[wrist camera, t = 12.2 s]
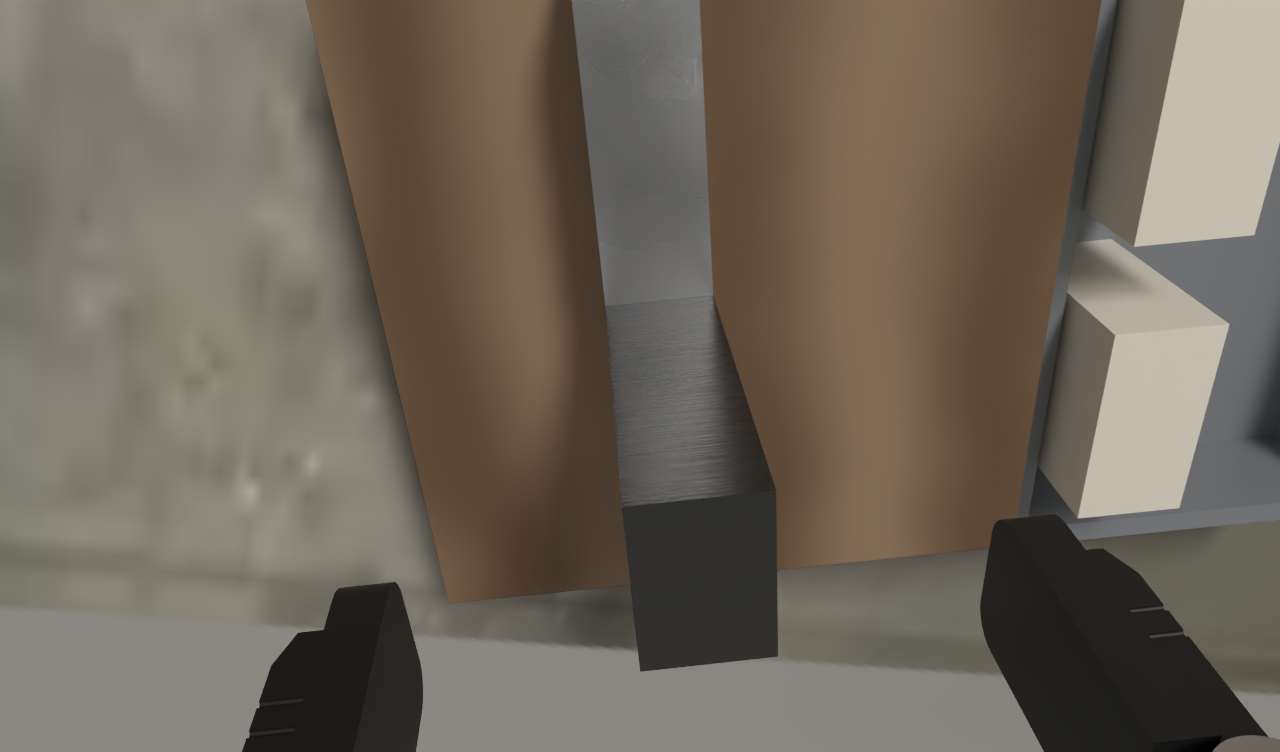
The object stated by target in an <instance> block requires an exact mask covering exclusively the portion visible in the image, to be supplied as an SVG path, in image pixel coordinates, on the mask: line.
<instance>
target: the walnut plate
mask: <svg viewBox="0 0 1280 752" xmlns="http://www.w3.org/2000/svg"><path fill="white" fill-rule="evenodd" d="M306 3H307V7H308V11H309V15H310V20H311V24H312V28H313V32H314V37H315V41H316V45H317V49H318V53H319V58H320V62H321V66H322V70H323V75H324V79H325V83H326V87H327V91H328V96H329V100H330V104H331V108H332V112H333V117H334V121H335V125H336V129H337V134H338V138H339V142H340V146H341V150H342V155H343V159H344V163H345V167H346V172H347V176H348V180H349V184H350V188H351V193H352V197H353V201H354V205H355V209H356V214H357V218H358V222H359V226H360V231H361V235H362V239H363V243H364V247H365V252H366V256H367V260H368V264H369V269H370V273H371V277H372V281H373V285H374V290H375V294H376V298H377V302H378V306H379V311H380V315H381V319H382V323H383V328H384V332H385V336H386V340H387V344H388V349H389V353H390V357H391V361H392V365H393V370H394V374H395V378H396V382H397V387H398V391H399V395H400V399H401V403H402V408H403V412H404V416H405V420H406V425H407V429H408V433H409V437H410V441H411V446H412V450H413V454H414V458H415V462H416V467H417V471H418V475H419V479H420V484H421V488H422V492H423V496H424V500H425V505H426V509H427V513H428V517H429V522H430V526H431V530H432V534H433V538H434V543H435V547H436V551H437V555H438V559H439V564H440V568H441V572H442V576H443V581H444V585H445V589H446V593H447V597H448V602H449V603H458V602H468V601H477V600H487V599H497V598H507V597H517V596H526V595H536V594H546V593H556V592H566V591H575V590H585V589H595V588H605V587H614V586H624V585H631V584H630V575H629V566H628V558H627V549H626V540H625V531H624V523H623V514H622V504H621V492H620V480H619V467H618V455H617V443H616V431H615V418H614V406H613V394H612V381H611V369H610V357H609V344H608V332H607V320H606V308H605V298H604V289H603V280H602V271H601V262H600V253H599V244H598V235H597V226H596V216H595V207H594V198H593V189H592V180H591V171H590V162H589V153H588V144H587V135H586V126H585V117H584V108H583V98H582V89H581V80H580V71H579V62H578V53H577V44H576V35H575V26H574V17H573V8H572V0H306ZM1100 6H1101V0H700V19H701V41H702V63H703V85H704V107H705V129H706V151H707V173H708V195H709V217H710V238H711V260H712V282H713V296H714V300H715V303H716V306H717V309H718V312H719V315H720V318H721V321H722V324H723V327H724V330H725V334H726V337H727V340H728V343H729V346H730V349H731V352H732V355H733V358H734V361H735V364H736V368H737V371H738V374H739V377H740V380H741V383H742V386H743V389H744V392H745V395H746V398H747V402H748V405H749V408H750V411H751V414H752V417H753V420H754V423H755V426H756V429H757V432H758V436H759V439H760V442H761V445H762V448H763V451H764V454H765V457H766V460H767V463H768V467H769V470H770V473H771V476H772V479H773V482H774V485H775V488H776V516H777V570H781V569H791V568H800V567H810V566H820V565H830V564H840V563H849V562H859V561H869V560H879V559H889V558H898V557H908V556H918V555H928V554H937V553H947V552H957V551H967V550H977V549H986V548H989V547H990V541H991V534H992V530H993V527H994V524H995V523H996V522H997V521H998V520H1002V519H1011V518H1016V517H1017V511H1018V504H1019V498H1020V492H1021V486H1022V480H1023V474H1024V468H1025V462H1026V456H1027V450H1028V444H1029V438H1030V432H1031V426H1032V419H1033V413H1034V407H1035V401H1036V395H1037V389H1038V383H1039V377H1040V371H1041V365H1042V359H1043V353H1044V347H1045V340H1046V334H1047V328H1048V322H1049V316H1050V310H1051V304H1052V298H1053V292H1054V286H1055V280H1056V274H1057V268H1058V261H1059V255H1060V249H1061V243H1062V237H1063V231H1064V225H1065V219H1066V213H1067V207H1068V201H1069V195H1070V189H1071V183H1072V176H1073V170H1074V164H1075V158H1076V152H1077V146H1078V140H1079V134H1080V128H1081V122H1082V116H1083V110H1084V104H1085V97H1086V91H1087V85H1088V79H1089V73H1090V67H1091V61H1092V55H1093V49H1094V43H1095V37H1096V31H1097V25H1098V19H1099V12H1100Z"/></svg>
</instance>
